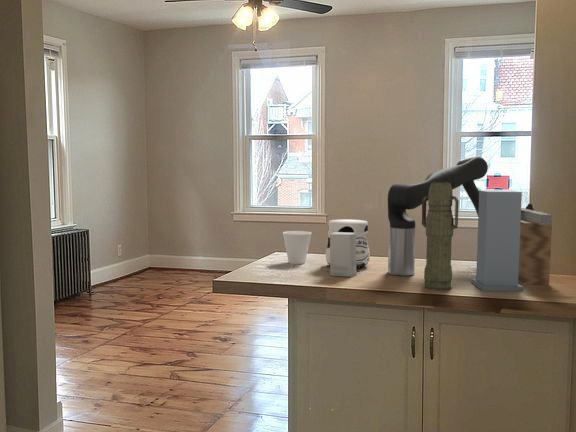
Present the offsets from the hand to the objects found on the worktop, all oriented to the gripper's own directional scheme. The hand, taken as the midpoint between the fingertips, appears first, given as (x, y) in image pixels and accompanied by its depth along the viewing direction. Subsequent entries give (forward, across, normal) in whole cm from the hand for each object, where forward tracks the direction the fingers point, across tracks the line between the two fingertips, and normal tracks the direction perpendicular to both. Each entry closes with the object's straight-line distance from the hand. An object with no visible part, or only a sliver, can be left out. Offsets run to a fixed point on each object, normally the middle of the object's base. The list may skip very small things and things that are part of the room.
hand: (523, 205), depth 219 cm
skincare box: (-12, -65, +23) cm, 70 cm away
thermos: (+5, -35, +33) cm, 48 cm away
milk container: (-28, -62, +14) cm, 69 cm away
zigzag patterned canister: (-7, 0, +26) cm, 27 cm away
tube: (+4, 0, +8) cm, 9 cm away
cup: (-35, -82, +10) cm, 90 cm away
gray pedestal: (+4, -15, +32) cm, 35 cm away
